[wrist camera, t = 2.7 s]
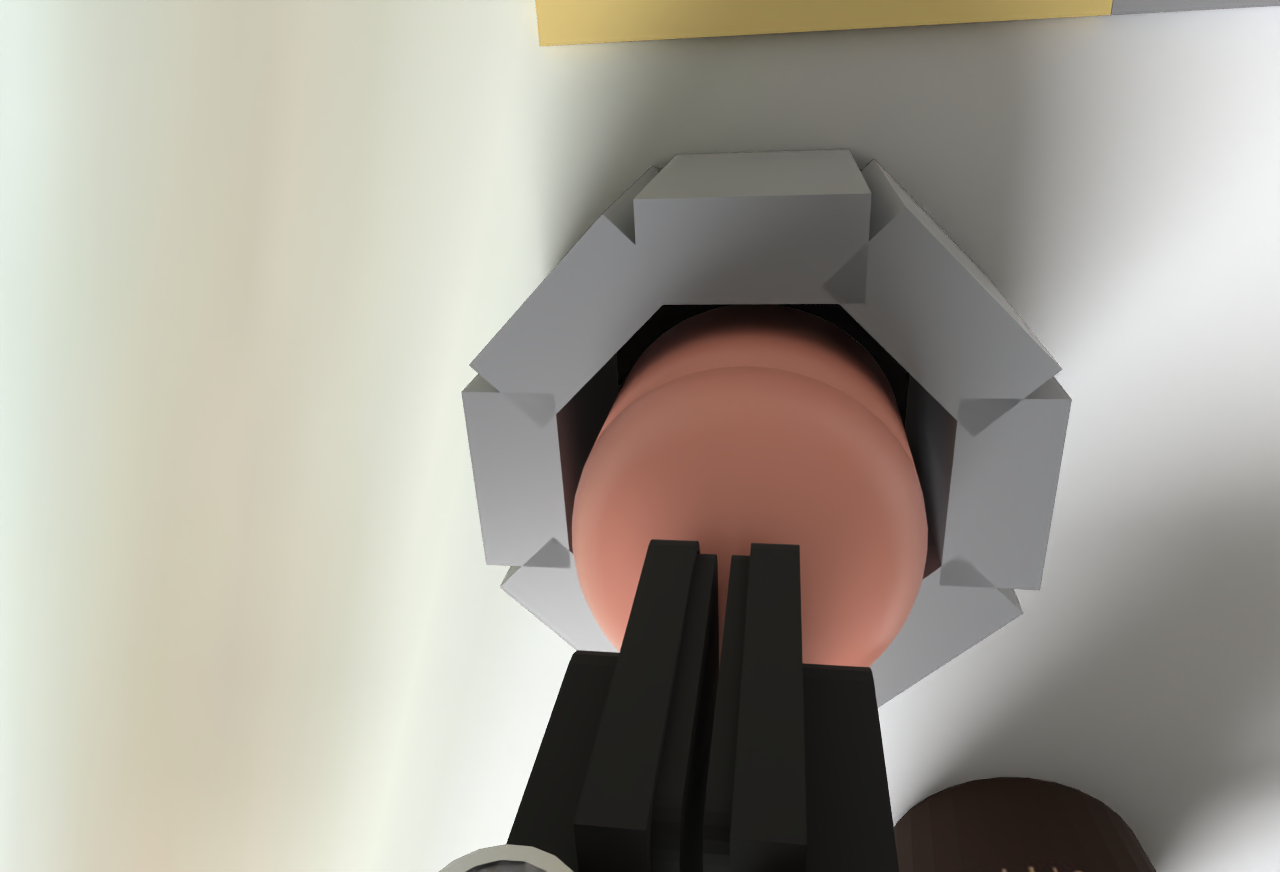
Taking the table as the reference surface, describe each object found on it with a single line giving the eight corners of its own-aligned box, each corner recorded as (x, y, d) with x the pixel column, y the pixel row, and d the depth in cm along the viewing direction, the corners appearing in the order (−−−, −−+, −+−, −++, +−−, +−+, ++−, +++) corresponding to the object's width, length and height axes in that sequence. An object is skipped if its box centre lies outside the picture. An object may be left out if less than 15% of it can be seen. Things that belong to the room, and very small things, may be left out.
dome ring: (1016, 143, 16) (1107, 187, 11) (963, 570, 19) (1015, 733, 15) (528, 159, 17) (434, 204, 12) (567, 553, 21) (505, 696, 16)
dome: (913, 302, 14) (980, 452, 9) (891, 569, 16) (936, 811, 11) (604, 304, 15) (508, 442, 10) (621, 558, 17) (550, 777, 12)
